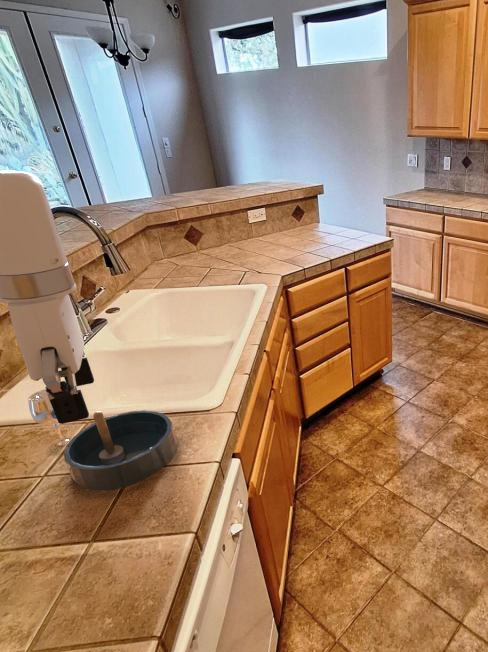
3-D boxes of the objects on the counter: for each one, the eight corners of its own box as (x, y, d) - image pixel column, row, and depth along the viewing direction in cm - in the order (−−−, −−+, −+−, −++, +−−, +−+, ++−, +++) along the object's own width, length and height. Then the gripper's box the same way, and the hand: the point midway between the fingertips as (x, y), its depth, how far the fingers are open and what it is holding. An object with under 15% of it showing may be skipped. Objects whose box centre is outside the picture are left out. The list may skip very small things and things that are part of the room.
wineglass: (39, 450, 86) (17, 399, 81) (67, 433, 91) (48, 384, 86) (60, 456, 85) (38, 405, 79) (87, 438, 90) (69, 390, 84)
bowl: (53, 498, 75) (42, 474, 73) (100, 435, 91) (92, 414, 88) (160, 487, 78) (153, 464, 75) (188, 428, 93) (182, 407, 91)
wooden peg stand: (97, 466, 81) (79, 419, 77) (106, 452, 85) (90, 406, 80) (120, 464, 82) (103, 417, 77) (128, 450, 86) (113, 405, 81)
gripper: (10, 267, 57) (53, 379, 64) (-28, 310, 43) (32, 445, 50) (79, 261, 60) (112, 367, 67) (64, 299, 46) (107, 427, 54)
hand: (78, 401), depth 59 cm, fingers open, 9 cm apart
